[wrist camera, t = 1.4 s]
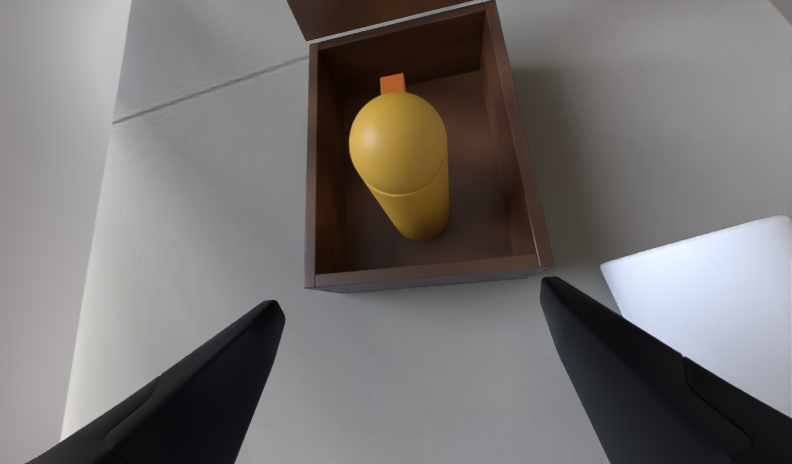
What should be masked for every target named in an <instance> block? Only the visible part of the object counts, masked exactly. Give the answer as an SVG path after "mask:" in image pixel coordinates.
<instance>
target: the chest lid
mask: <svg viewBox="0 0 792 464" xmlns="http://www.w3.org/2000/svg"><path fill="white" fill-rule="evenodd" d="M468 1H472V0H287V2H288V4H289V6H290V9H291V11H292V13H293V15H294V17H295V19H296V21H297V23H298V26H299V28H300V30H301V32H302V34H303V36H304V38H305V40H306V41H309V40H313V39H318V38H322V37H326V36H330V35H334V34H338V33H342V32H346V31H350V30H354V29H358V28H362V27H366V26H370V25H374V24H379V23H383V22H387V21H391V20H395V19H399V18H403V17H407V16H411V15H415V14H419V13H423V12H427V11H431V10H435V9H440V8H444V7H448V6H452V5H456V4H460V3H464V2H468Z"/></svg>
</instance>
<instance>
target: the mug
mask: <svg viewBox="0 0 792 464" xmlns="http://www.w3.org/2000/svg"><path fill="white" fill-rule="evenodd" d="M600 270H601V272H602V274H603V276H604V278H605V280H606V282H607V284H608V286H609V288H610V290H611V292H612V295H613V297H614V299H615V301H616V303H617V305H618V307H619V309H620V311H621V313H622V315H623V317H624V318H625V319H627V320H628V321H630V322H631V323H633V324H635V325H636V326H638V327H639V328H641V329H643V330H644V331H646V332H647V333H649V334H651V335H652V336H654V337H655V338H657V339H659V340H660V341H662V342H664V343H665V344H667V345H668V346H670V347H672V348H673V349H675V350H676V351H678V352H680V353H681V354H682V355H683V357H684V356H686V357H688V358H689V359H691V360H693V361H694V362H696V363H697V364H699V365H701V366H702V367H704V368H706V369H707V370H709V371H711V372H712V373H714V374H715V375H717V376H719V377H720V378H722V379H724V380H725V381H727V382H729V383H730V384H732V385H734V386H735V387H737V388H739V389H741V390H743V391H744V392H746V393H748V394H750V395H751V396H753V397H755V398H757V399H758V400H760V401H762V402H764V403H766V404H767V405H769V406H771V407H773V408H774V409H776V410H778V411H780V412H782V413H784V414H785V415H787V416H789V417H791V418H792V220H791V219H790V218H789V217H787V216H785V215H776V216H772V217H768V218H764V219H760V220H756V221H752V222H748V223H745V224H741V225H737V226H733V227H730V228H726V229H722V230H719V231H715V232H711V233H708V234H704V235H700V236H697V237H693V238H689V239H686V240H682V241H678V242H675V243H671V244H668V245H664V246H660V247H657V248H653V249H650V250H646V251H643V252H639V253H636V254H632V255H629V256H625V257H622V258H618V259H615V260H611V261H608V262H605V263H602V264H601V265H600Z"/></svg>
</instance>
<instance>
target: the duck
mask: <svg viewBox="0 0 792 464" xmlns="http://www.w3.org/2000/svg"><path fill="white" fill-rule="evenodd" d="M380 84H381V95H380V96H378V97H376V98H374V99H373V100H371V101H370V102H369V103H367V104H366V105H365V106H364V107H363V108H362V109H361V110H360V112H359V113H358V115H357V116H356V118H355V120H354V122H353V125H352V128H351V132H350V137H349V148H350V155H351V159H352V162H353V164H354V166H355V168H356V170H357V172H358V173H359V175H360V176H361V177H362V179H363V181H364V182H365V184H366V185H367V186H368V188H369V189H370V191H371V192H372V194H373V195H374V196H375V198H376V199H377V201H378V202H379V204H380V205H381V207H382V208H383V209H384V211H385V212H386V214H387V215H388V217H389V218H390V219H391V221H392V222H393V224H394V225H395V227H396V228H397V230H398V231H399V232H400V233H401V234H402V235H403V236H405V237H406V238H408V239H411V240H414V241H426V240H430V239H432V238H434V237H436V236H438V235H439V234H440V233H441V232H442V231H443V230H444V228H445V227H446V225H447V223H448V220H449V185H448V152H447V135H446V130H445V126H444V124H443V121H442V119H441V117H440V115H439V114H438V112H437V111H436V110H435V109H434V107H433V106H432V105H430V104H429V103H428V102H427V101H426V100H424V99H423V98H421V97H419V96H416V95H414V94H411V93H406V84H405V79H404V74H403V73H401V74H396V75H391V76H387V77H382V78H380Z"/></svg>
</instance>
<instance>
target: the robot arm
mask: <svg viewBox="0 0 792 464" xmlns="http://www.w3.org/2000/svg"><path fill="white" fill-rule="evenodd" d="M540 302H541V306H542V309H543V312H544V315H545V318H546V320H547V323H548V326H549V329H550V332H551V335H552V338H553V341H554V344H555V346H556V349H557V352H558V354H559V356H560V358H561V361H562V363H563V365H564V367H565V369H566V371H567V373H568V375H569V377H570V379H571V382H572V384H573V386H574V388H575V390H576V392H577V394H578V396H579V398H580V400H581V403H582V405H583V407H584V409H585V411H586V413H587V415H588V417H589V419H590V421H591V424H592V426H593V428H594V430H595V432H596V434H597V436H598V438H599V440H600V442H601V444H602V447H603V449H604V451H605V453H606V455H607V457H608V459H609V461H610V463H611V464H792V418H791V417H789V416H787V415H785V414H784V413H782V412H780V411H778V410H776V409H774V408H773V407H771V406H769V405H767V404H766V403H764V402H762V401H760V400H758V399H757V398H755V397H753V396H751V395H750V394H748V393H746V392H744V391H743V390H741V389H739V388H737V387H735V386H734V385H732V384H730V383H729V382H727V381H725V380H724V379H722V378H720V377H719V376H717V375H715V374H714V373H712V372H711V371H709V370H707V369H706V368H704V367H702V366H701V365H699V364H697V363H696V362H694V361H693V360H691V359H689V358H688V357H686V356H684V357H683V355H682V354H681V353H680V352H678V351H676V350H675V349H673V348H672V347H670V346H668V345H667V344H665V343H664V342H662V341H660V340H659V339H657V338H655V337H654V336H652V335H651V334H649V333H647V332H646V331H644V330H643V329H641V328H639V327H638V326H636V325H635V324H633V323H631V322H630V321H628V320H627V319H625V318H623V317H622V316H620V315H619V314H617V313H615V312H614V311H612V310H610V309H609V308H607V307H606V306H604V305H602V304H601V303H599V302H598V301H596V300H594V299H593V298H591V297H590V296H588V295H586V294H585V293H583V292H582V291H580V290H578V289H577V288H575V287H574V286H572V285H570V284H569V283H567V282H566V281H564V280H562V279H561V278H559V277H556V276H553V277H544V278H543V279H542V281H541V292H540ZM284 325H285V315H284V313H283V311H282V309H281V308H280V306H279V304H278V302H277V301H276V300H267V301H263V302H262V303H260V304H259V305H258V306H256V307H255V308H253V309H252V310H251V311H249V312H248V313H246V314H245V315H244V316H242V317H241V318H239V319H238V320H237V321H235V322H234V323H232V324H231V325H230V326H228V327H227V328H225V329H224V330H223V331H221V332H220V333H218V334H217V335H216V336H214V337H213V338H211V339H210V340H209V341H207V342H206V343H204V344H203V345H202V346H200V347H199V348H197V349H196V350H195V351H193V352H192V353H190V354H189V355H188V356H186V357H185V358H183V359H182V360H181V361H179V362H178V363H176V364H175V365H174V366H172V367H171V368H169V369H168V370H167V371H165V372H164V373H162V374H161V376H158V377H157V378H155V379H154V380H152V381H151V382H150V383H148V384H147V385H145V386H144V387H143V388H141V389H140V390H138V391H137V392H135V393H134V394H133V395H131V396H130V397H128V398H127V399H125V400H124V401H122V402H121V403H119V404H118V405H116V406H115V407H113V408H112V409H110V410H109V411H107V412H106V413H104V414H103V415H101V416H100V417H98V418H97V419H95V420H94V421H92V422H91V423H89V424H88V425H86V426H85V427H83V428H82V429H80V430H78V431H77V432H75V433H74V434H72V435H71V436H69V437H68V438H66V439H65V440H63V441H62V442H60V443H59V444H57V445H56V446H54V447H52V448H51V449H49V450H48V451H46V452H45V453H43V454H41V455H40V456H38V457H37V458H35V459H33V460H31V461H29V462H27V463H25V464H234V463H235V461H236V458H237V456H238V453H239V451H240V448H241V445H242V443H243V440H244V438H245V435H246V433H247V430H248V427H249V425H250V422H251V420H252V417H253V415H254V412H255V410H256V407H257V404H258V402H259V399H260V397H261V394H262V392H263V389H264V386H265V384H266V381H267V379H268V376H269V374H270V371H271V368H272V366H273V363H274V360H275V357H276V353H277V350H278V346H279V342H280V339H281V335H282V332H283V328H284Z"/></svg>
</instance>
